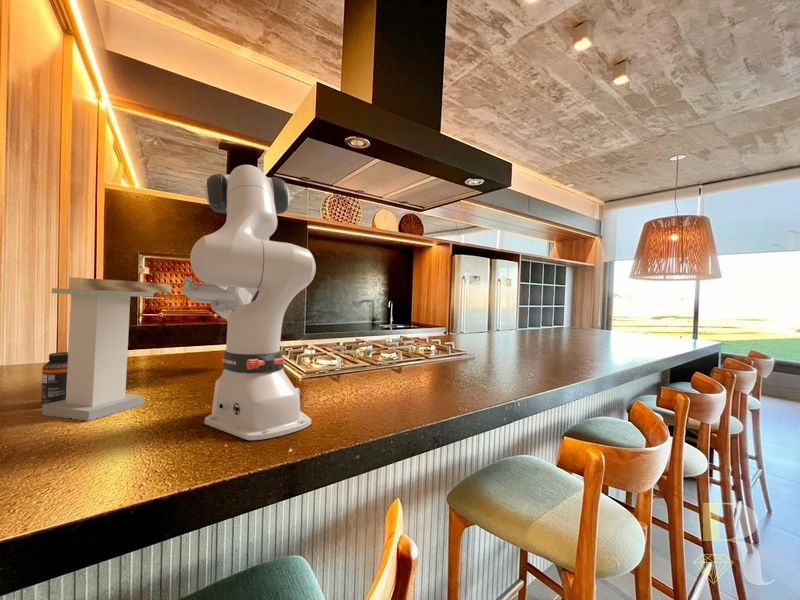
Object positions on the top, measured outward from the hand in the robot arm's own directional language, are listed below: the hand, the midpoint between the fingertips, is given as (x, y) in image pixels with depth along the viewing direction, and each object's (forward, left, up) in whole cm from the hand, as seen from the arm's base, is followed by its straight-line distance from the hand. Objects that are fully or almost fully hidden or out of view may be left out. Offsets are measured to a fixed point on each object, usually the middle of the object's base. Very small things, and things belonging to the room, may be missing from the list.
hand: (199, 279), depth 103 cm
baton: (-11, +19, -4) cm, 23 cm away
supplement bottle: (-4, +29, -31) cm, 42 cm away
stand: (-14, +24, -30) cm, 41 cm away
